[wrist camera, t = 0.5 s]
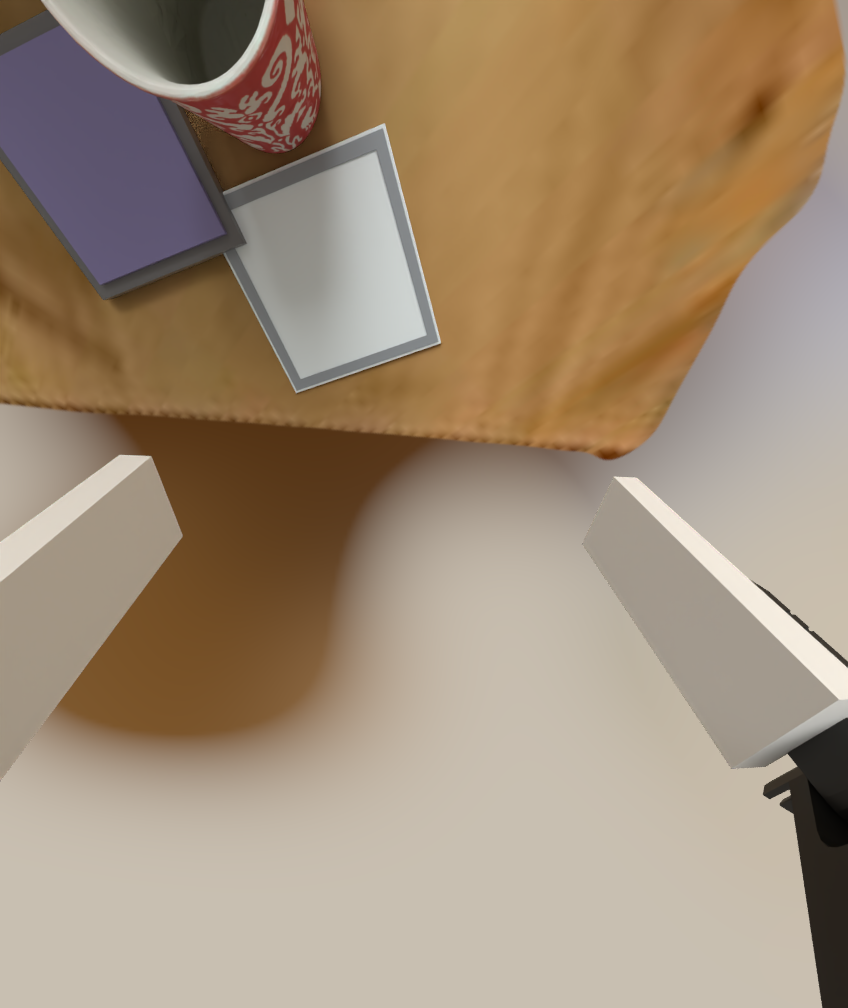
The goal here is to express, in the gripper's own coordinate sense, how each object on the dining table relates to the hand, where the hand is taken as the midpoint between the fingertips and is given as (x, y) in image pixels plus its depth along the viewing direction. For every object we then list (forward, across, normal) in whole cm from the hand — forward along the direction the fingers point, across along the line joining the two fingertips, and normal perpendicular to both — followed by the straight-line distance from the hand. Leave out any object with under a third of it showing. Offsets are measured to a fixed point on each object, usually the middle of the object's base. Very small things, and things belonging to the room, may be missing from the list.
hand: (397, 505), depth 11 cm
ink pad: (+25, -19, +9) cm, 33 cm away
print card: (+25, -5, +4) cm, 26 cm away
